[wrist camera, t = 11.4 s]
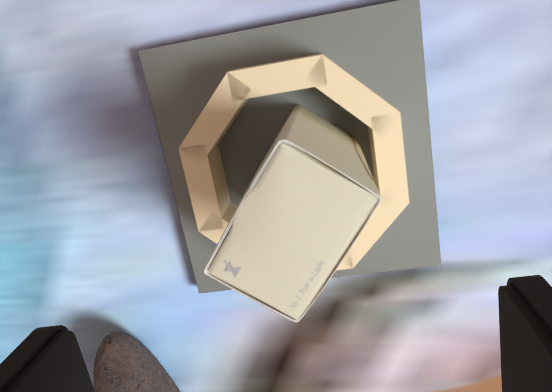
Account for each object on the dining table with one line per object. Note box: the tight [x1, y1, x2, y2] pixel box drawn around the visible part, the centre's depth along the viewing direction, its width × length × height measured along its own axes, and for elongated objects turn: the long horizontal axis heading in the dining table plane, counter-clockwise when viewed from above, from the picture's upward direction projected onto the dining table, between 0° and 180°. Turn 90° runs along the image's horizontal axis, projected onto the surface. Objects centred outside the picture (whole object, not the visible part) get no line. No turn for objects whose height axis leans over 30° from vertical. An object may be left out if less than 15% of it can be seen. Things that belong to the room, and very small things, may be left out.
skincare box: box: [204, 105, 382, 322], centre depth 23 cm, size 6×4×12 cm
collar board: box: [138, 0, 441, 293], centre depth 28 cm, size 16×16×4 cm
